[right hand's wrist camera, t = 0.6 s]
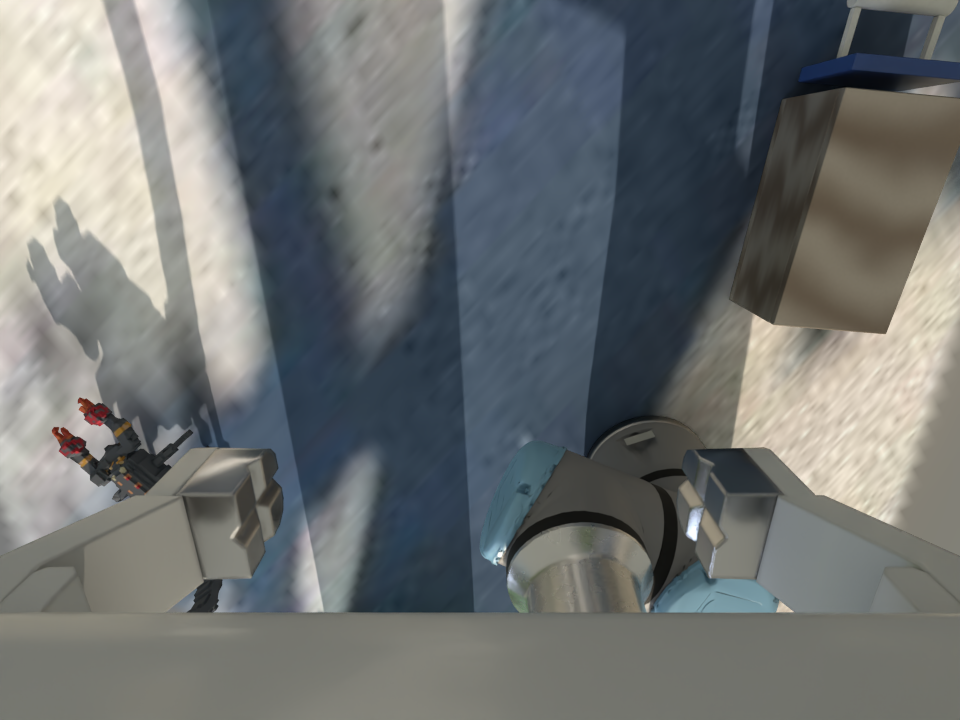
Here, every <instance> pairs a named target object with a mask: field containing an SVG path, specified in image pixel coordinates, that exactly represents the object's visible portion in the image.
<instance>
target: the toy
mask: <svg viewBox="0 0 960 720" xmlns="http://www.w3.org/2000/svg"><path fill="white" fill-rule="evenodd" d="M78 403H81V404H82V405H83V406H81V407H80V408H79V410H80V411H81V412H83V413H85V414H84V416H85V419H84V420H85V421H87V422H88V423H89V424H91V425H93V424H94V425H99V426H101V425H102V424H105V425H106V426H108V427H109V428H110V429H111V430H112V431H113V433H114V435H115V436H116V438H117V439H118V440H119V443H118V444H114V445H108V446H107V447H105V448H104V449H105V451H106V452H105V454H104V456H103V457H102V459H101V460H100V461H98V460H97V459H95V458H94V457H93V456H92V455H91V454H90V453H89V451H88V450H87V449H86V448H85V446H86V441H84V440H83V439H82V438H80V437H78V436H77V437H75V436H73V435H72V434H71V433H69V431H68V430H67V429H65V428H64V427H63V428H61V432H62V434H63V435H64V436H63V435H62V434H60V433H58V430H59V427H54V428H53V429H52V433H53V434H54V436H55V437H56V438H57V439H58V441H59V444H60V446H61V448H60V450H59V452H60V453H62V454H63V455H64V456H65V457H67V458H70V459H72V460H73V461H75V462H76V463H78V464H79V465H81V468H82V469H83V470H85V471H86V472H87V473H88V474H89V475H90V480H91V481H92V482H93V483H95V484H96V485H97V486H98V487H99V486H101V485H103V486H105V485H106V484H107V483H109V482H110V481H113V482H114V483H115V484H116V486H117V487H118V488H119V490H118V491H117V492H116V493H115V494H114V496H113V498H112V499H113V500H115V501H116V502H119V501H122V500H123V499H124V498H125V497H127V496H130V498H131V497H133V496H136V495H145V494H146V493H147V492H148V491H149V490H150V489H151V488H152V487H153V486H154V485H155V484H156V483H157V482H158V481H159V480H160V479H161V478H162V477H163V476H164V475H165V474H166V473H167V472H168V471H169V470H170V469H171V468H172V467H171V466H169V465H167V466H166V465H165V464H164V462H165V461H166V460H167V459H169V458H170V457H171V456H172V455H173V454H174V453H175V452H177V451H178V450H179V449H177V447H178V446H179V445H181V444H182V443H183V442H184V441H185V440H186V439H187V438H188V437H189V436H190V435H192V434H193V432H192V431H191V430H188V431H187V432H186V433H185V434H184V435H182V436H181V437H180V438H179V439H178V440H177V441H176V442H175V443H174V444H171V443H170V444H169V445H168V446H167V447H165V448H164V449H163V450H162V451H161V452H160V453H158V454H157V455H156V456H154V455H153V454H149V453H147V452H146V451H145V450H144V449H140V450H138V451H137V452H135V451H134V450H135V449H137V448H138V447H139V446H140V445H141V443H140V442H141V441H140V440H139V439H138V437H139V436H138V435H137V434H136V433H135V431H134V430H133V429H132V427H131V424H130V423H129V422H128V421H126V420H125V419H124V418H122V419H118V418H116V417H115V416H114V415H112V414H111V413H112V411H111V410H110V409H108V408H107V407H106V406H105V405H104V404H103V403H102V404H101V403H98V404H96V405H94V404H93V403H92V402H90V401H89V400H88V399H82V398H79V399H78ZM206 448H210V447H209V446H207V447H206ZM221 586H222V579H209V580H204V582H203V583H202V584H201V585H199V586H198V587H197V591H196V593H195V595H194V596H195V599H194V602H195V604H194V605H193V607H192V608H191V610H189V611H188V612H186V613H213V612H214V611H216V609H217V608H218V605H217V603H218V601H219V600H218V593H219V590H220V588H221Z"/></svg>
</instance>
